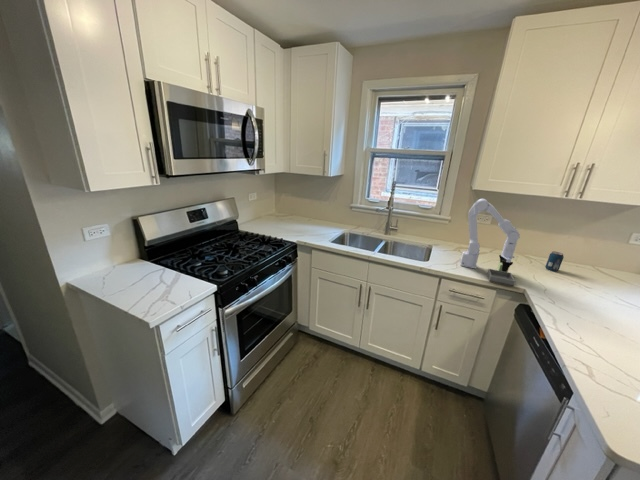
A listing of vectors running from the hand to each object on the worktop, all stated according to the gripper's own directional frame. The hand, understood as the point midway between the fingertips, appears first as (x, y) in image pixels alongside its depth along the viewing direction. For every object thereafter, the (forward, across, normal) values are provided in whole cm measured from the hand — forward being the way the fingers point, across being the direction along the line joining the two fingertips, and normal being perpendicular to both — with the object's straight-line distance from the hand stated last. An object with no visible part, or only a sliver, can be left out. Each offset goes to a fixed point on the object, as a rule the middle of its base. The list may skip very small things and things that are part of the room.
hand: (502, 268), depth 166 cm
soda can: (+3, +24, -32) cm, 40 cm away
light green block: (+3, 0, 0) cm, 3 cm away
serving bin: (+3, -12, +3) cm, 13 cm away
